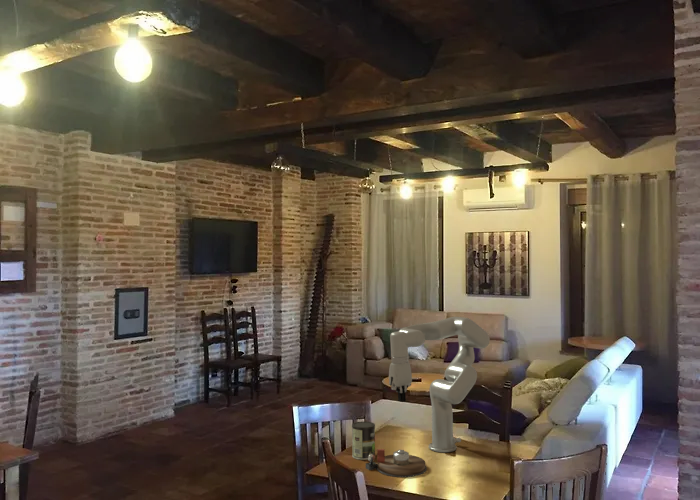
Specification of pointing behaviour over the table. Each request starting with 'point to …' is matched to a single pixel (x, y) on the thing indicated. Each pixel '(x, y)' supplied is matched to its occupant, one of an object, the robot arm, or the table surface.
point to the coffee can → (363, 440)
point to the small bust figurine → (371, 463)
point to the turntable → (389, 467)
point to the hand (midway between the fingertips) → (402, 401)
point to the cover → (401, 457)
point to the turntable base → (400, 475)
